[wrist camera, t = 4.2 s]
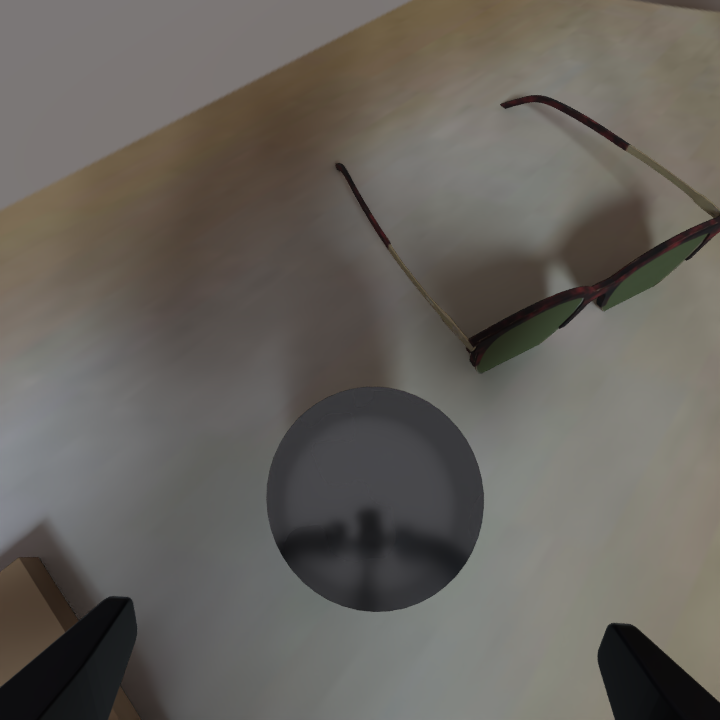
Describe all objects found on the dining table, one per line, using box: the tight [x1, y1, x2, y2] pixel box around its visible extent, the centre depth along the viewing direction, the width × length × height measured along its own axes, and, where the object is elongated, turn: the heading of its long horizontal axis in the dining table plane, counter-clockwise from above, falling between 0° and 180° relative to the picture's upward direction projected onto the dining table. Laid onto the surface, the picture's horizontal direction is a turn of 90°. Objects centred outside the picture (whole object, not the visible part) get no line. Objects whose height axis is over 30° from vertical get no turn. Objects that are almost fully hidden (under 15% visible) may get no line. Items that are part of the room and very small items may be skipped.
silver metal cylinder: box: [267, 387, 484, 612], centre depth 14 cm, size 5×5×10 cm
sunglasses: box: [336, 95, 720, 373], centre depth 24 cm, size 14×15×5 cm
